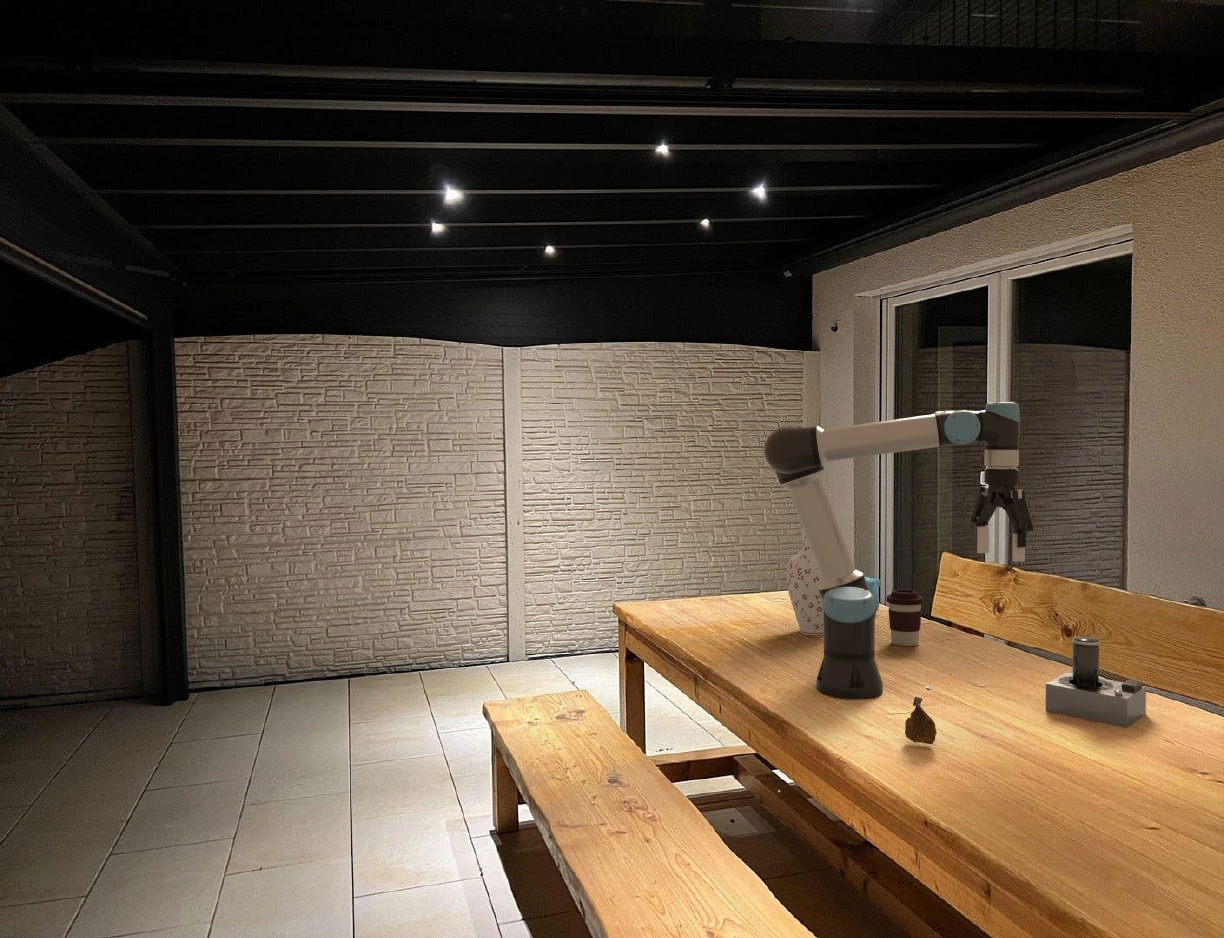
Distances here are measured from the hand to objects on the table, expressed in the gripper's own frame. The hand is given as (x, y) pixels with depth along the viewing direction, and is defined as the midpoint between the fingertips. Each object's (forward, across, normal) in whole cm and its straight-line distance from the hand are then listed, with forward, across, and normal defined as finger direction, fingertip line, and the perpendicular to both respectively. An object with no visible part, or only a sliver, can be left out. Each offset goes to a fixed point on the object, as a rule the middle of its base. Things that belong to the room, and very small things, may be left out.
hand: (1000, 557), depth 217 cm
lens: (+26, -23, -5) cm, 35 cm away
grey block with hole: (+30, -24, -6) cm, 39 cm away
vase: (+31, +62, +19) cm, 72 cm away
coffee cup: (+31, +42, 0) cm, 52 cm away
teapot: (+31, +83, -6) cm, 89 cm away
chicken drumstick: (+31, -32, +40) cm, 60 cm away
